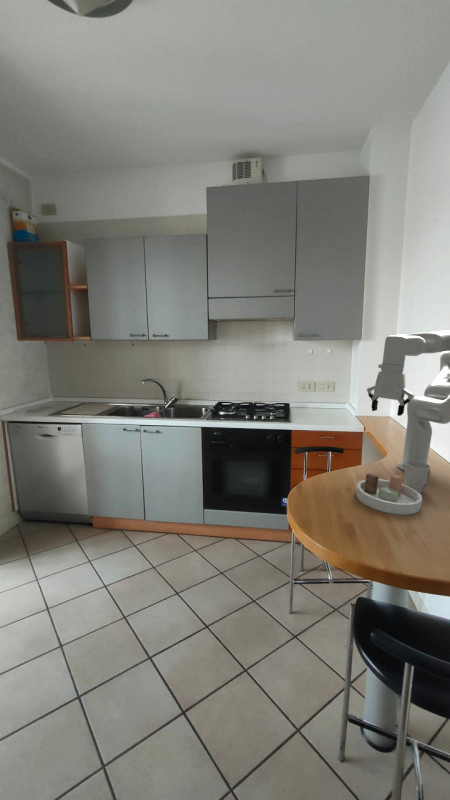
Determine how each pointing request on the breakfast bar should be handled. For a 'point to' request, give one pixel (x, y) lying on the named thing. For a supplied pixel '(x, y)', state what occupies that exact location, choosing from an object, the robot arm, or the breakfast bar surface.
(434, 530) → the breakfast bar surface
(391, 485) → the pinkish-brown rounded piece
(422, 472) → the cup
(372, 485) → the walnut bead
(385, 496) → the groove tray
